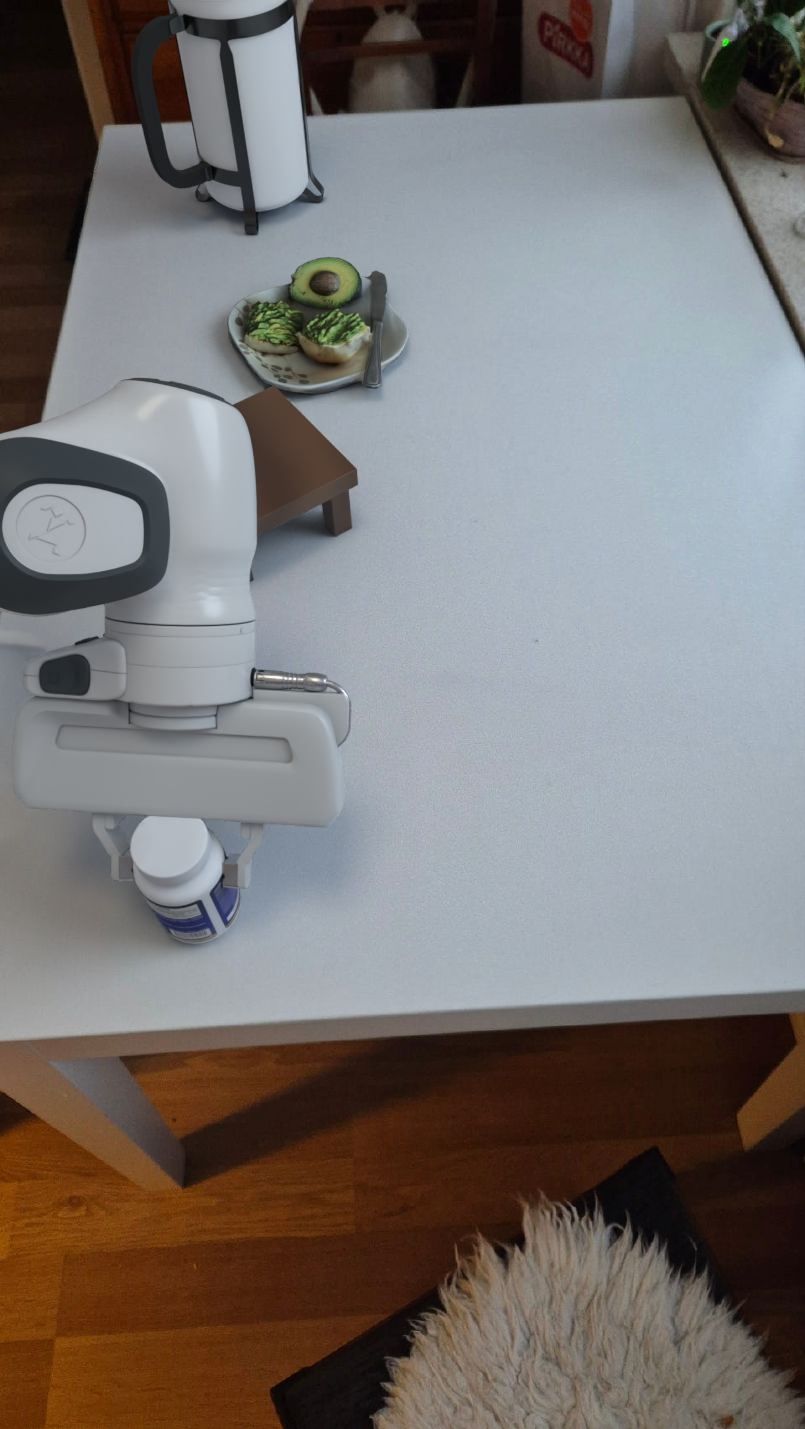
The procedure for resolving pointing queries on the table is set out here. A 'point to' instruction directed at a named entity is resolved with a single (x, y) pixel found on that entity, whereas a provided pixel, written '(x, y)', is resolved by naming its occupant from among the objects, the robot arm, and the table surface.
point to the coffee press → (233, 102)
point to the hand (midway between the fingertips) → (181, 881)
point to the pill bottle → (183, 877)
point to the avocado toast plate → (319, 329)
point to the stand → (294, 465)
